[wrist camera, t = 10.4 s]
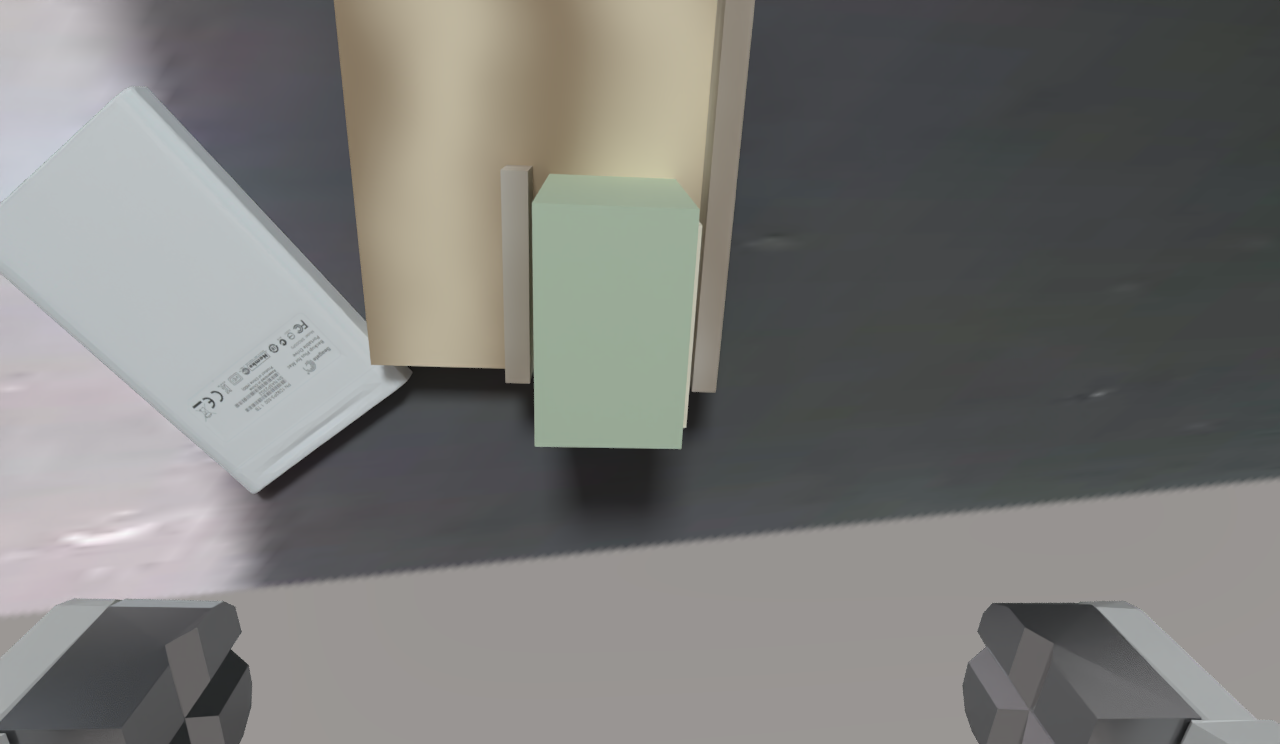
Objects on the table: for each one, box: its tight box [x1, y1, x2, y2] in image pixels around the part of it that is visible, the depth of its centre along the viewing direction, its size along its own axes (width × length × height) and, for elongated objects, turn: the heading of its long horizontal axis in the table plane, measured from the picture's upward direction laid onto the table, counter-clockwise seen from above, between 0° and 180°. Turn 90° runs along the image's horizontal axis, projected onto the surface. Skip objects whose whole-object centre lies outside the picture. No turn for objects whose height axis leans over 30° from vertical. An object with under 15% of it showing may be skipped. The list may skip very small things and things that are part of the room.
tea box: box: [532, 174, 702, 449], centre depth 21 cm, size 4×6×6 cm, turn 177°
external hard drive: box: [0, 86, 412, 494], centre depth 25 cm, size 2×8×12 cm
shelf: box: [334, 0, 755, 392], centre depth 22 cm, size 12×12×4 cm
